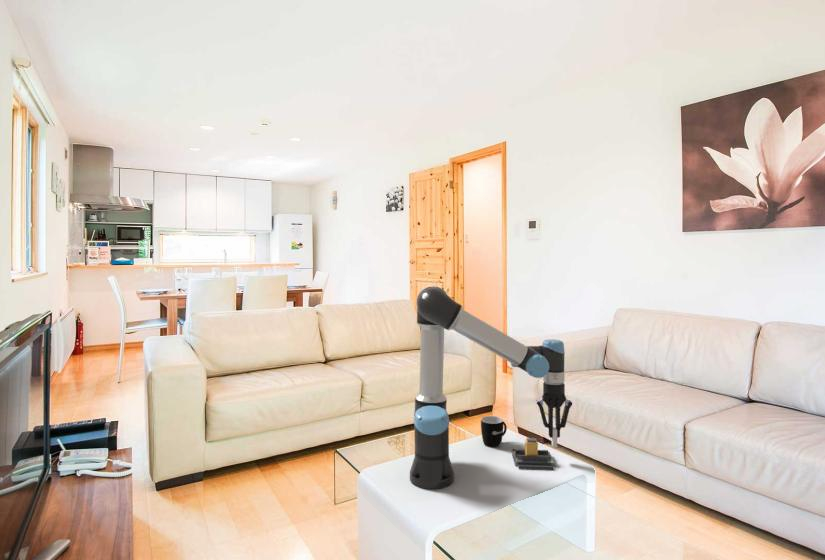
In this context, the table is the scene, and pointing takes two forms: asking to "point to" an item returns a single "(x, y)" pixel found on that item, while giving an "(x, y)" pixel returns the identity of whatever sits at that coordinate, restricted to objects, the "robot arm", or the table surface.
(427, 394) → the robot arm
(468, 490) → the table surface
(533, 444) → the toggle
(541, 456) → the panel
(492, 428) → the mug
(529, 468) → the dark grey long bar
